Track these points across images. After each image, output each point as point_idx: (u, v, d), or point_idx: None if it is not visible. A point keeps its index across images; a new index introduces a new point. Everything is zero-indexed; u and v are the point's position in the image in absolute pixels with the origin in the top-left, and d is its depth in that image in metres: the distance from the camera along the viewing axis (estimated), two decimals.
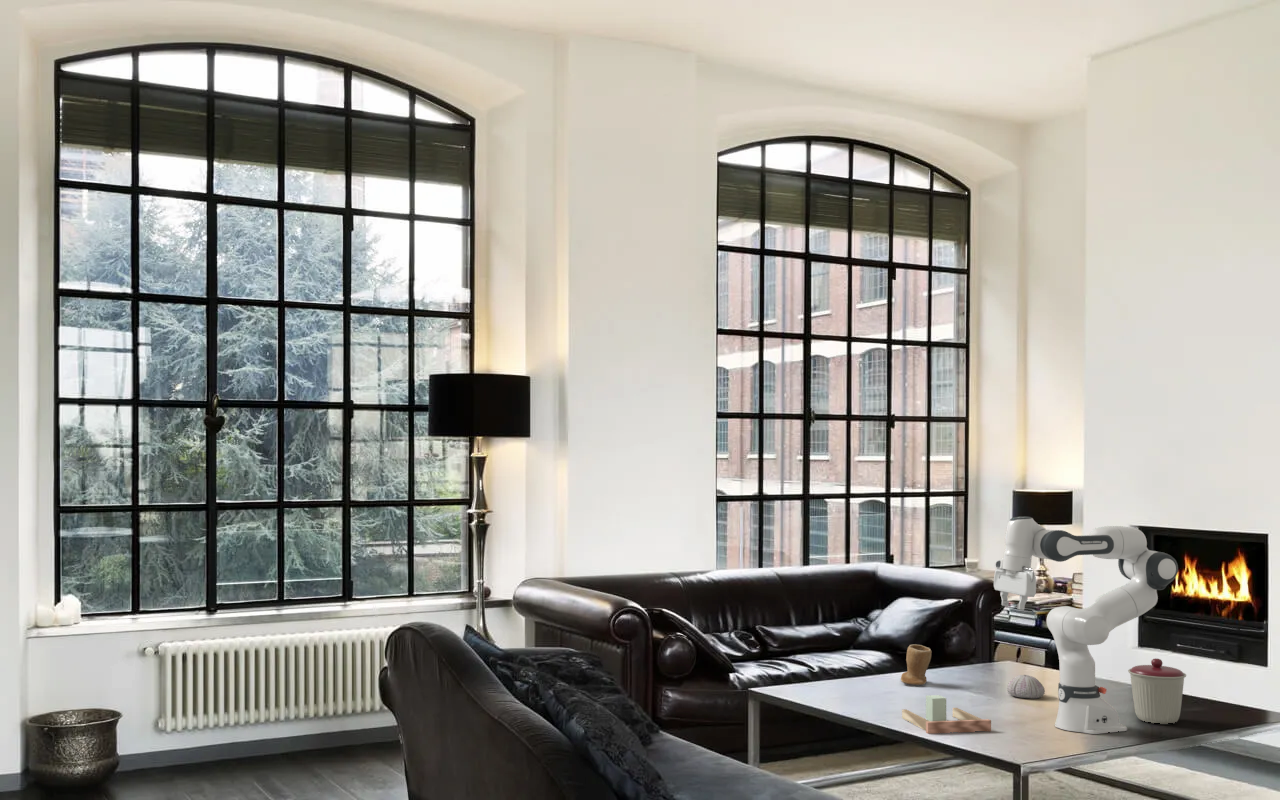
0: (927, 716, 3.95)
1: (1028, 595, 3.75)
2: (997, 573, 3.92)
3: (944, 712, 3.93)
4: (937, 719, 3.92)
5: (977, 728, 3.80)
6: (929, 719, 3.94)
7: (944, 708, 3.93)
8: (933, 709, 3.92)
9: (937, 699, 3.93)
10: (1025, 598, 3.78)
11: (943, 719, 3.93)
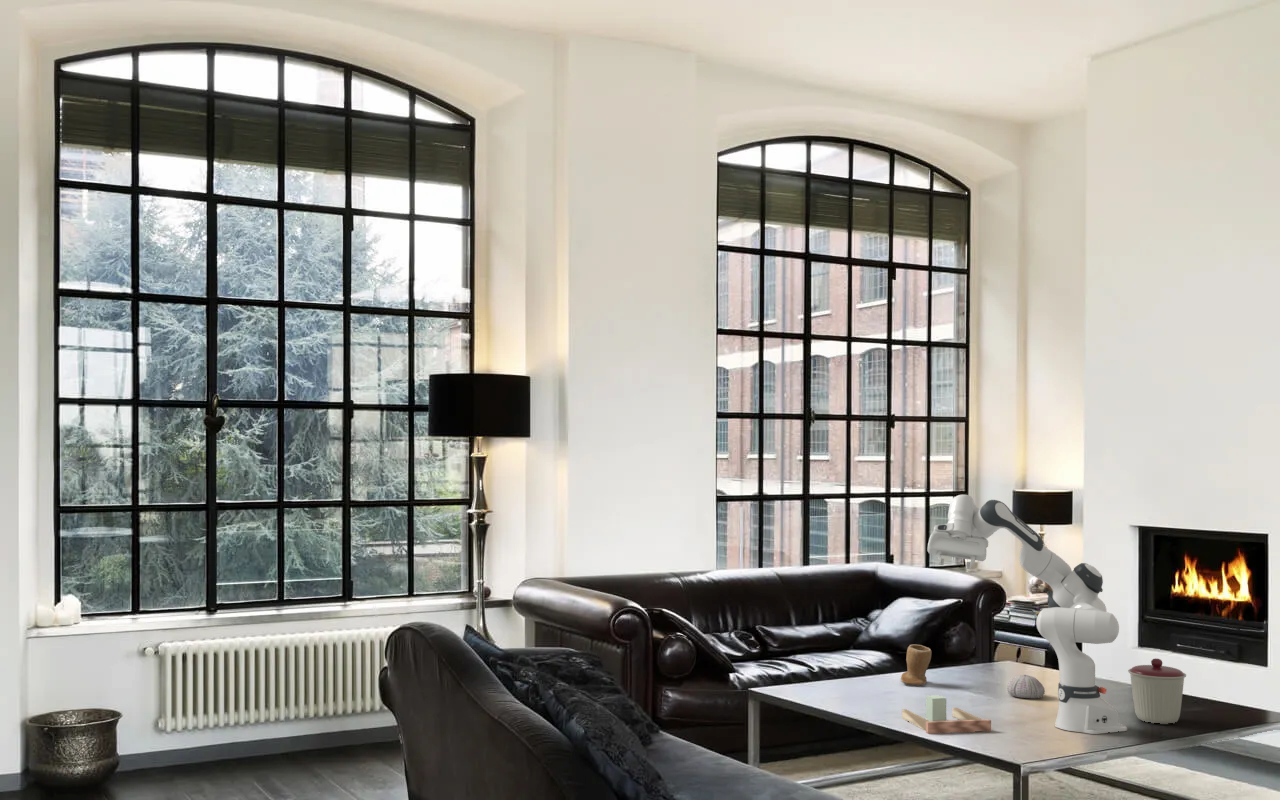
0: (927, 716, 3.95)
1: (985, 557, 4.12)
2: (936, 535, 4.18)
3: (944, 712, 3.93)
4: (937, 719, 3.92)
5: (977, 728, 3.80)
6: (929, 719, 3.94)
7: (944, 708, 3.93)
8: (933, 709, 3.92)
9: (937, 699, 3.93)
10: None
11: (943, 719, 3.93)
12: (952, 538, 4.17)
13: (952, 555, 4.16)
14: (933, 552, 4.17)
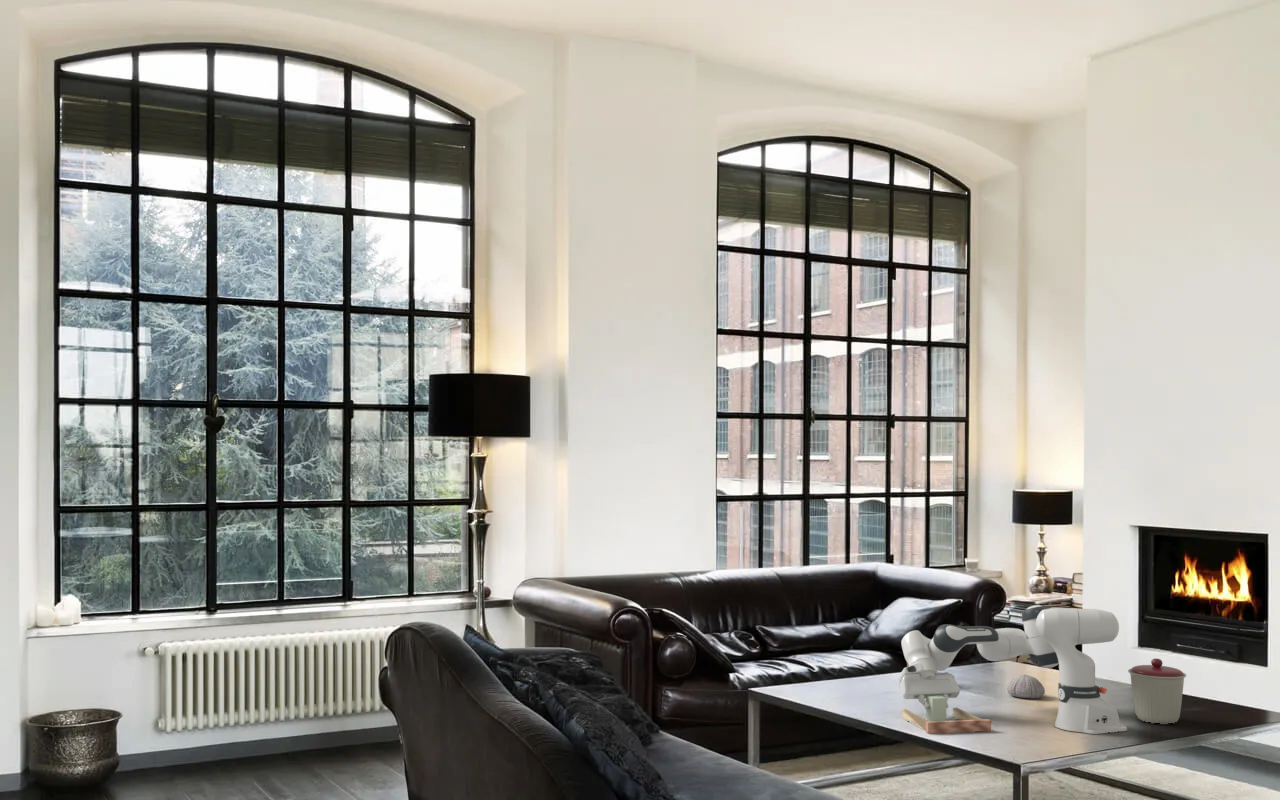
0: (927, 716, 3.95)
1: None
2: (908, 678, 3.99)
3: (944, 712, 3.93)
4: (937, 719, 3.92)
5: (977, 728, 3.80)
6: (929, 719, 3.94)
7: (944, 708, 3.93)
8: (933, 709, 3.92)
9: (937, 699, 3.93)
10: None
11: (943, 719, 3.93)
12: (923, 679, 4.00)
13: None
14: (910, 697, 3.97)
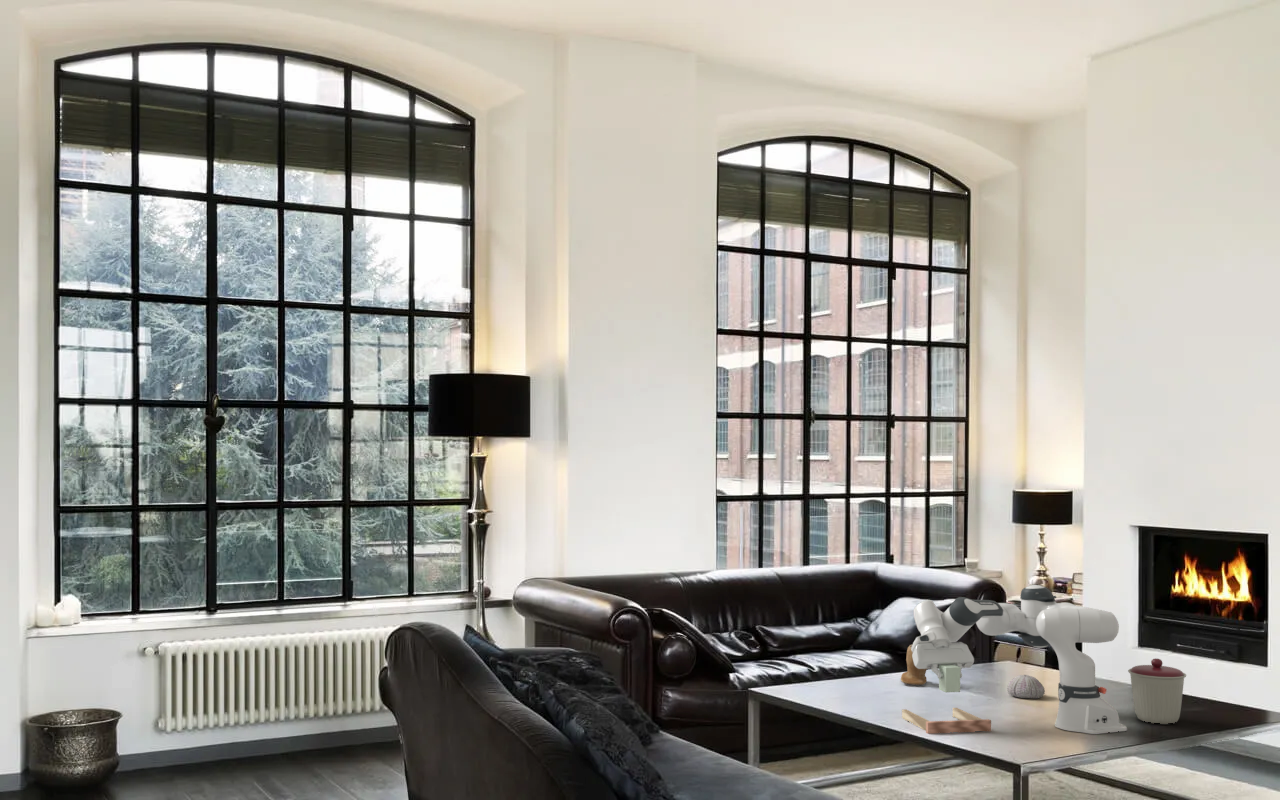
0: (941, 686, 3.86)
1: (973, 662, 3.90)
2: (921, 648, 3.90)
3: (958, 681, 3.84)
4: (951, 689, 3.83)
5: (977, 728, 3.80)
6: (942, 689, 3.85)
7: (958, 677, 3.84)
8: (947, 678, 3.83)
9: (951, 668, 3.83)
10: None
11: (957, 689, 3.83)
12: (936, 648, 3.91)
13: None
14: (923, 666, 3.87)
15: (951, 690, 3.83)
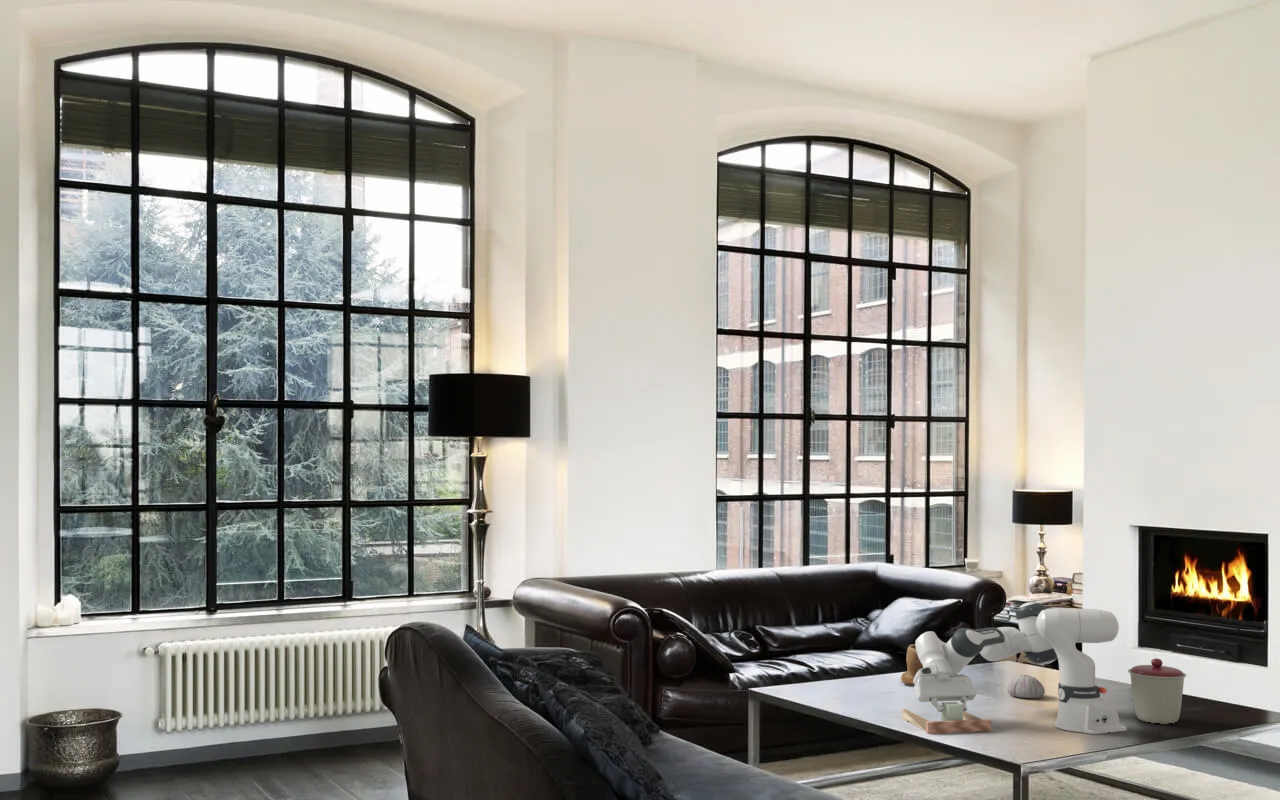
0: None
1: (975, 695, 3.88)
2: (923, 681, 3.88)
3: None
4: None
5: (977, 728, 3.80)
6: None
7: (960, 715, 3.82)
8: (949, 717, 3.81)
9: (953, 706, 3.82)
10: None
11: None
12: (939, 681, 3.89)
13: (943, 699, 3.87)
14: (925, 700, 3.85)
15: None
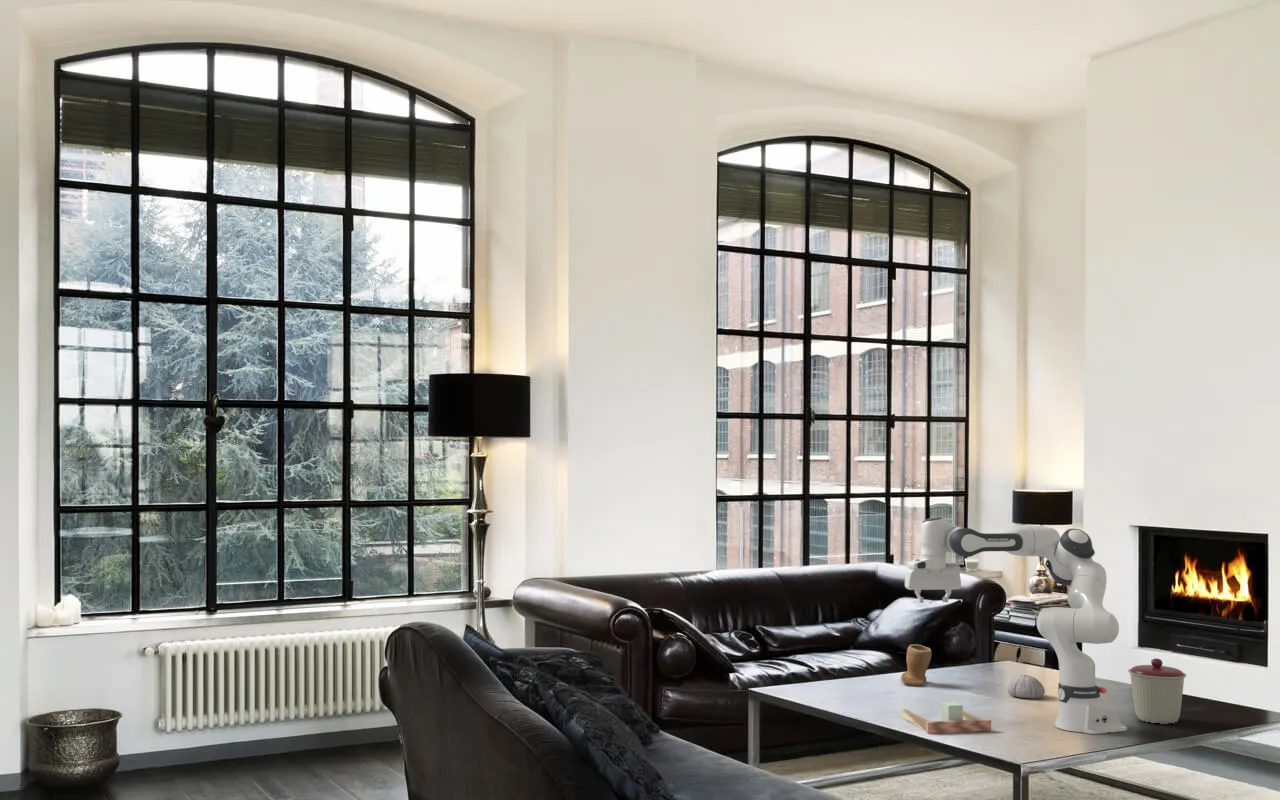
0: None
1: None
2: (915, 574, 4.14)
3: None
4: None
5: (977, 728, 3.80)
6: None
7: (960, 715, 3.82)
8: (949, 717, 3.81)
9: (953, 706, 3.82)
10: None
11: None
12: (930, 573, 4.15)
13: None
14: None
15: None
